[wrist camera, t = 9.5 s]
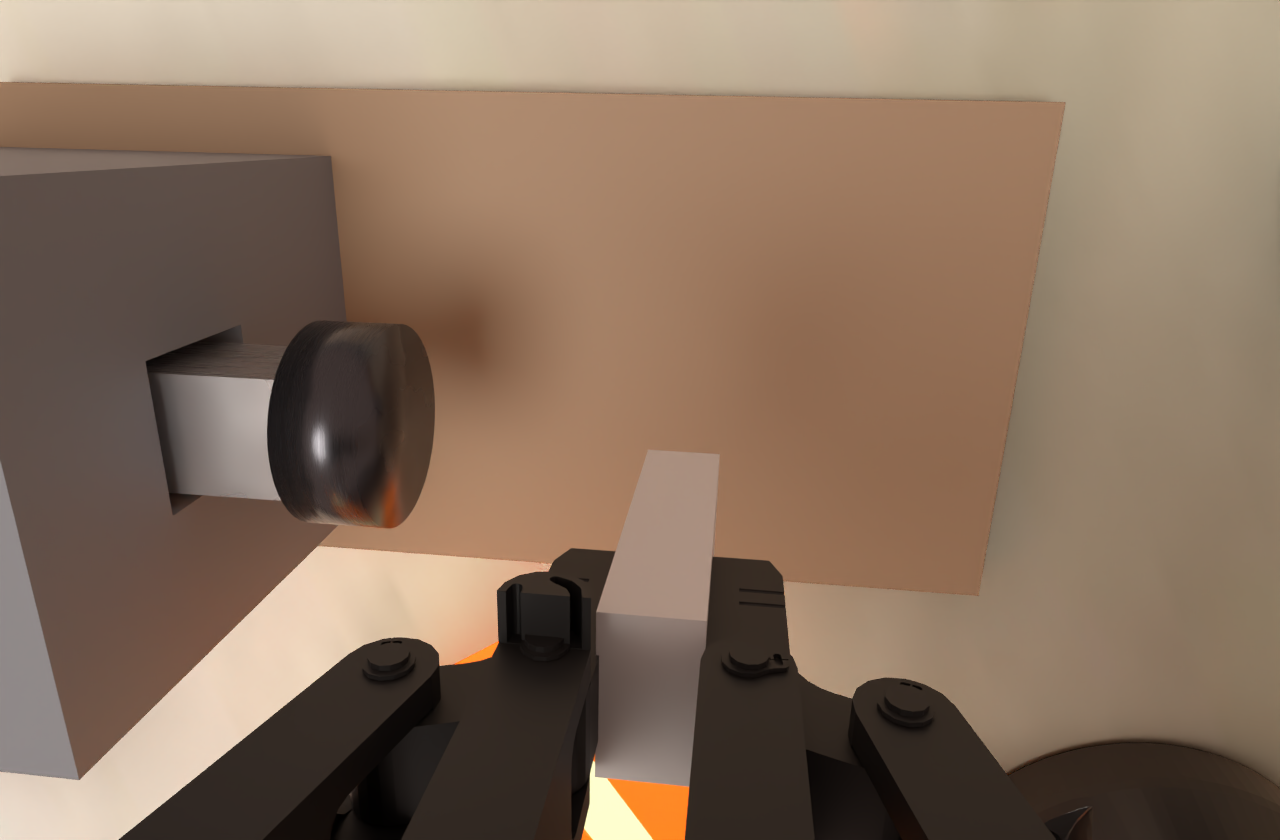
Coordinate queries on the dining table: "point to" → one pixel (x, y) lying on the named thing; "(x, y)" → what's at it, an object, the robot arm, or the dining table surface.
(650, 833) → the orange juice
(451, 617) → the dining table surface
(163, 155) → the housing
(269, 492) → the shaft
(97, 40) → the dining table surface
